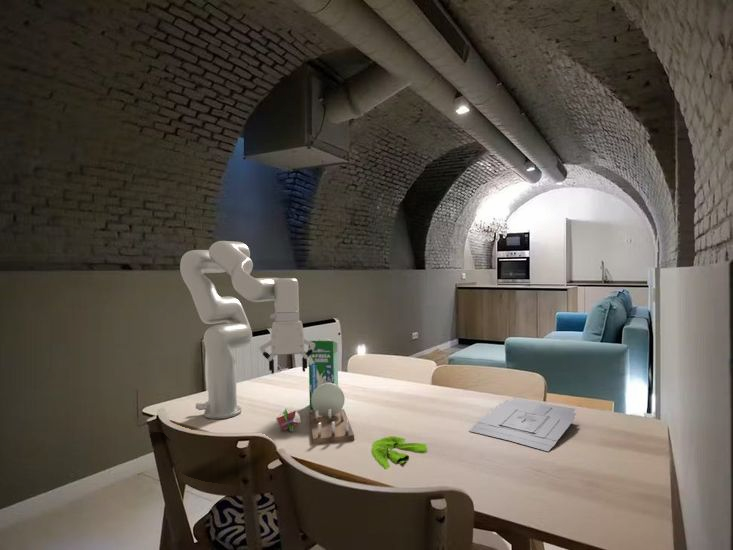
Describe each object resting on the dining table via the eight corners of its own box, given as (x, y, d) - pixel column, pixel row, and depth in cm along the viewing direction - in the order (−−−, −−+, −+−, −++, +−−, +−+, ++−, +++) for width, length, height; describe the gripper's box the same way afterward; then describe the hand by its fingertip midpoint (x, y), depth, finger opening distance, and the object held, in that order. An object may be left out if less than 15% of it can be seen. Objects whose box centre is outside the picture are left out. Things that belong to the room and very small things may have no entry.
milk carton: (338, 402, 164) (337, 336, 164) (334, 410, 155) (333, 340, 155) (315, 402, 165) (313, 336, 165) (309, 409, 156) (308, 340, 156)
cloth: (390, 434, 133) (390, 427, 133) (454, 452, 119) (454, 444, 119) (345, 458, 117) (345, 449, 117) (413, 481, 103) (413, 471, 103)
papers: (582, 418, 139) (582, 407, 138) (550, 461, 116) (549, 448, 116) (509, 403, 155) (508, 393, 154) (468, 439, 133) (467, 427, 132)
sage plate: (311, 418, 143) (311, 384, 143) (311, 417, 144) (310, 384, 144) (344, 415, 145) (344, 382, 144) (344, 414, 146) (343, 381, 146)
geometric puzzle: (269, 427, 133) (284, 407, 133) (274, 420, 140) (288, 400, 140) (288, 441, 133) (302, 420, 133) (292, 433, 140) (306, 413, 139)
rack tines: (318, 437, 126) (317, 423, 126) (313, 411, 150) (313, 399, 150) (348, 434, 128) (348, 421, 127) (339, 409, 151) (339, 398, 151)
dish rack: (313, 443, 125) (313, 438, 125) (309, 415, 150) (309, 411, 150) (354, 440, 127) (354, 435, 127) (343, 412, 152) (343, 408, 152)
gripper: (258, 319, 131) (259, 376, 131) (315, 317, 134) (316, 372, 134) (259, 317, 138) (260, 370, 138) (313, 315, 141) (315, 367, 142)
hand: (288, 371), depth 136 cm, fingers open, 9 cm apart
